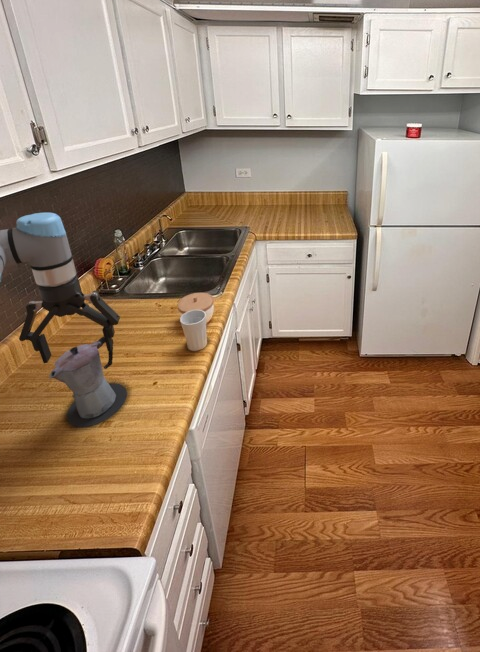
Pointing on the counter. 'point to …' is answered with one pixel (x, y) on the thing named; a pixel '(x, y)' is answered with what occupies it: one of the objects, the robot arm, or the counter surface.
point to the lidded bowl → (197, 304)
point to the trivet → (78, 421)
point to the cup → (194, 329)
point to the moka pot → (86, 378)
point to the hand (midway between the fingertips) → (80, 353)
